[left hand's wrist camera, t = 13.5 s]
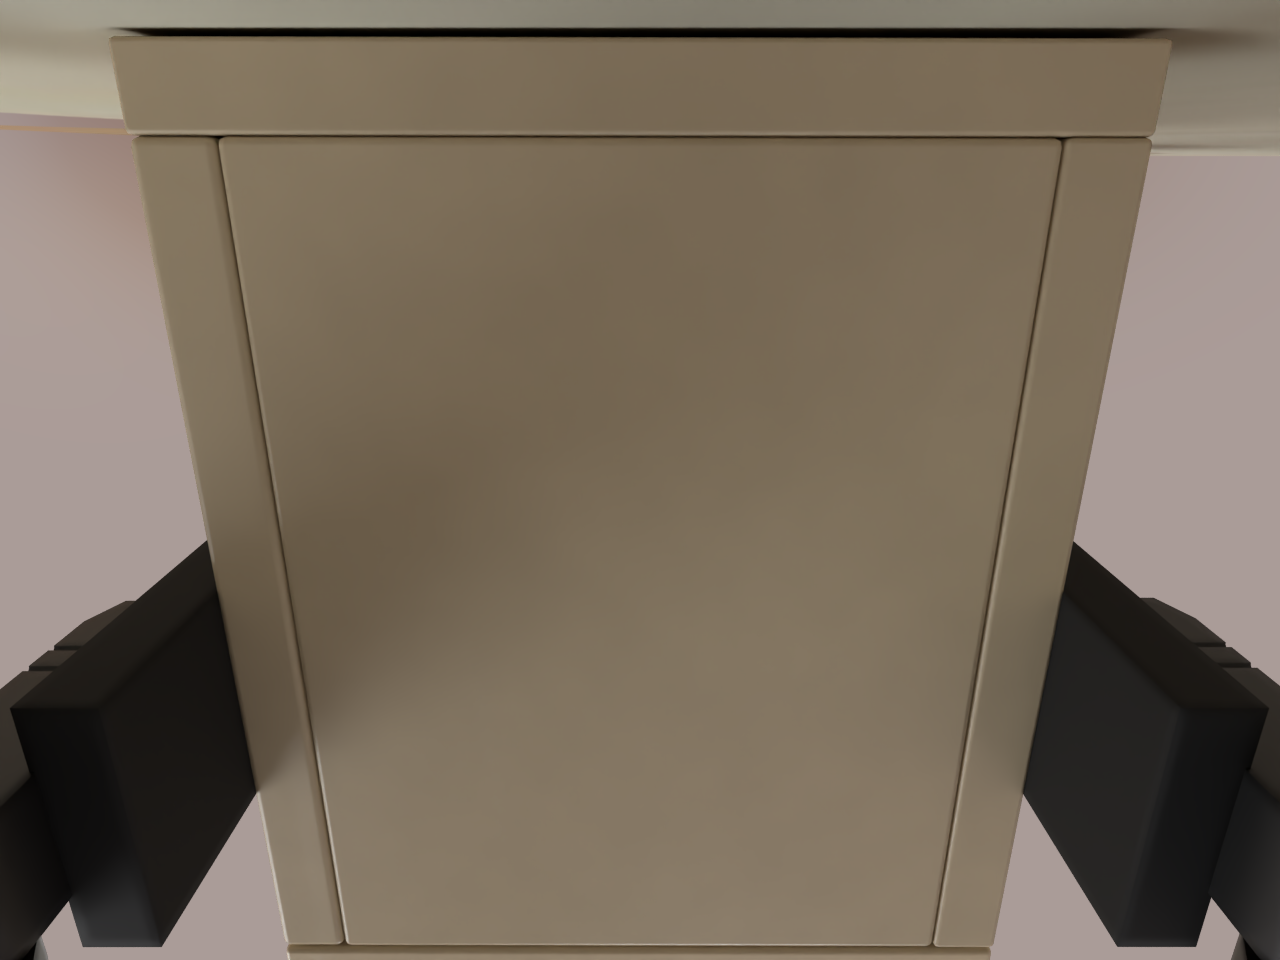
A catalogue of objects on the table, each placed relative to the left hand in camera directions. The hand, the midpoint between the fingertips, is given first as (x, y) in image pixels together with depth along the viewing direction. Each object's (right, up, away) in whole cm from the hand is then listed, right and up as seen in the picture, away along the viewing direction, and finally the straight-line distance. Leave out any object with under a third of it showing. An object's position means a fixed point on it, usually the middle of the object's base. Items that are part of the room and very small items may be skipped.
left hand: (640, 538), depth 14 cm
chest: (0, +7, 0) cm, 7 cm away
